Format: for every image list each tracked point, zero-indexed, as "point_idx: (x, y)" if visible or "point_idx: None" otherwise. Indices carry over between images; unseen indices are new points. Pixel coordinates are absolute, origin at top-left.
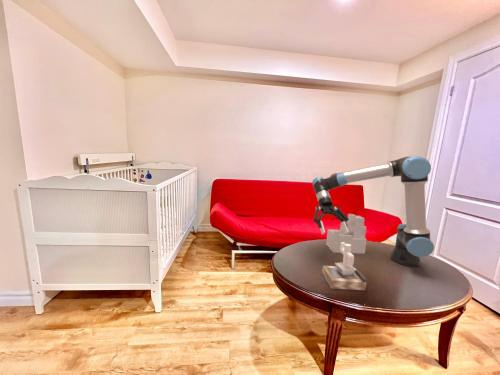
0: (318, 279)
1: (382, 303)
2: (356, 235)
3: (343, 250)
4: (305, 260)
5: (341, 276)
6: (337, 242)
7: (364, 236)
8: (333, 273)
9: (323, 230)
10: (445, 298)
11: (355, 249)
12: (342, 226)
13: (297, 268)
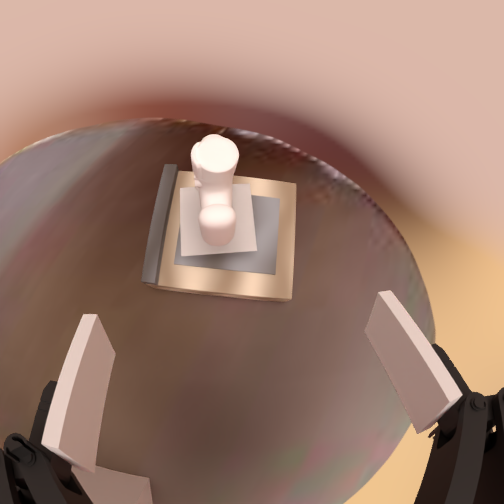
0: (316, 251)
1: (166, 134)
2: None
3: (228, 199)
4: (319, 405)
5: None
6: (119, 499)
7: None
8: (271, 225)
9: (398, 303)
10: (6, 169)
11: None
12: (98, 429)
13: None
